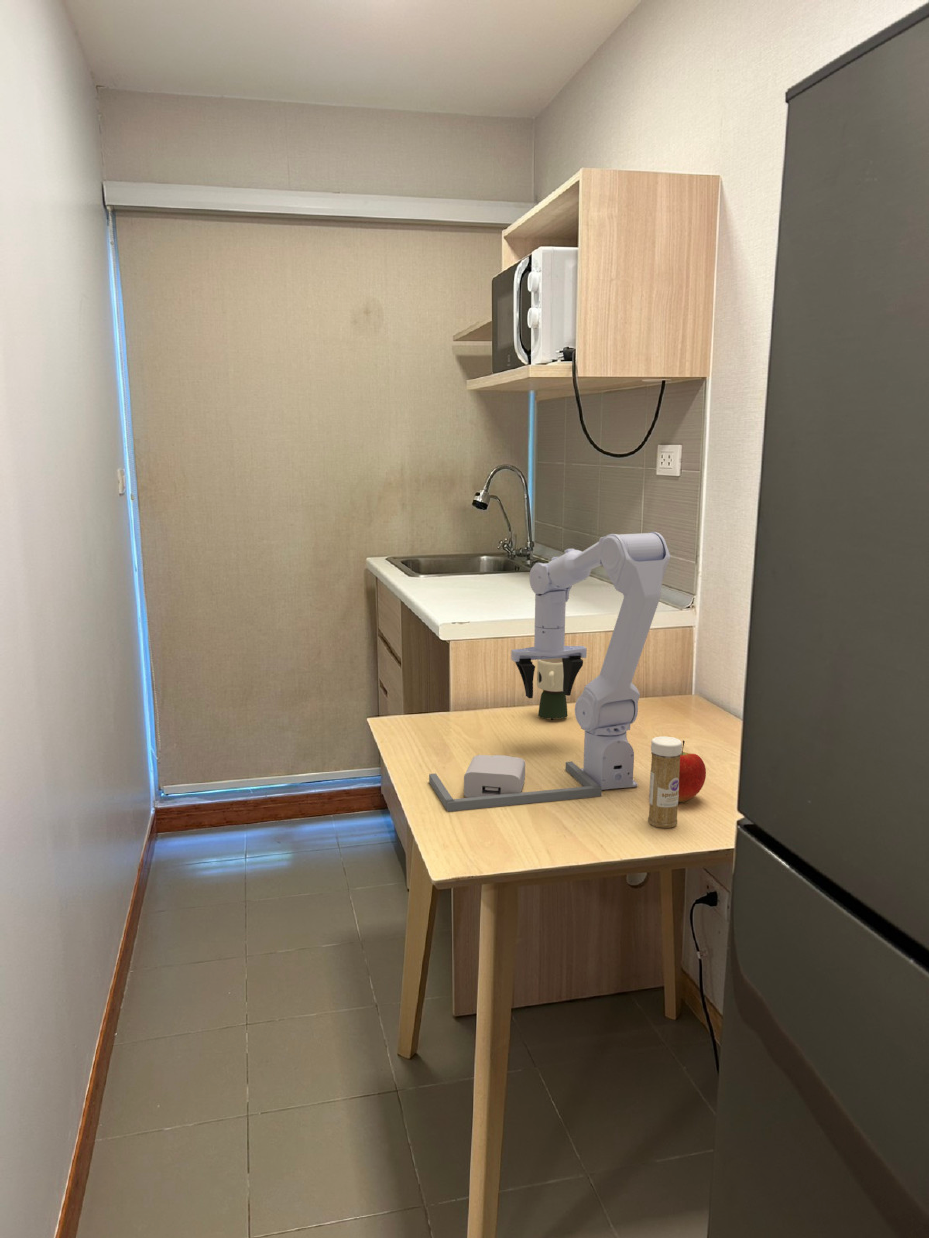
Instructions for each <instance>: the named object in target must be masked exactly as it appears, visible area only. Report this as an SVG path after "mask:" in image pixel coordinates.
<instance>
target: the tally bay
mask: <svg viewBox="0 0 929 1238" xmlns="http://www.w3.org/2000/svg"><path fill="white" fill-rule="evenodd" d="M581 769H582V768H580V767H579V766H578V765H577V764H575V762H574V761H566V762H565V771H566V772H567V773H568V774H570V776H572V777H573V779H575V780H576V781H577V782H578V783H579V784H580V785H581V786H576V787H565V788H557V789H556V788H555V789H547V790H546V789H545V790H533V791H524V792H521V793H512V794H502V795H492V796H481V797H471V798H467V797H464V798H463V797H462V798H453V797H452V795H451V794H450V793H449V791H448V789H447V788H446V787H445V785H444V783H443V781H442V780H441V778H440V777H439V776H438V774H437V773H436V772H435V773H428V781H429V785H430V786H431V788H432V789H433V791H434V792H435V794H436V795H437V797H438V799H439V800H440V803H442V805H443V807H444V808H445V810H446V811H447V812H457V811H468V810H477V809H486V808H489V809H490V808H496V807H505V806H507V807H508V806H518V805H519V806H520V805H527V804H529V805H530V804H536V803H538V804H539V803H547V802H556V801H557V802H558V801H566V800H569V801H570V800H577V799H588V798H595V797H597V798H598V797H602V791H603V790H602V788H601V787H600V786H599V785H598V784H597V783H596V782H595V781H593V780H592V779H591V778H590V777H589V776H588V775H587V774H586V773H584V772H583V771H582V770H581Z"/></svg>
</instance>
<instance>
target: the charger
mask: <svg viewBox="0 0 929 1238" xmlns="http://www.w3.org/2000/svg"><path fill="white" fill-rule="evenodd" d="M525 780H526V761H525V759H524V758H521V757H516V756H509V755H503V754H502V755H501V754H493V755H488V754H478V755H474V756H473V757H472V759H471V761H470V763H469V765H468V767H467V769H466V772H465V774H464V775H463V796H464V798H471V797H481V796H492V795H502V794H512V793H522V790H523V787H524V783H525Z"/></svg>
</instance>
